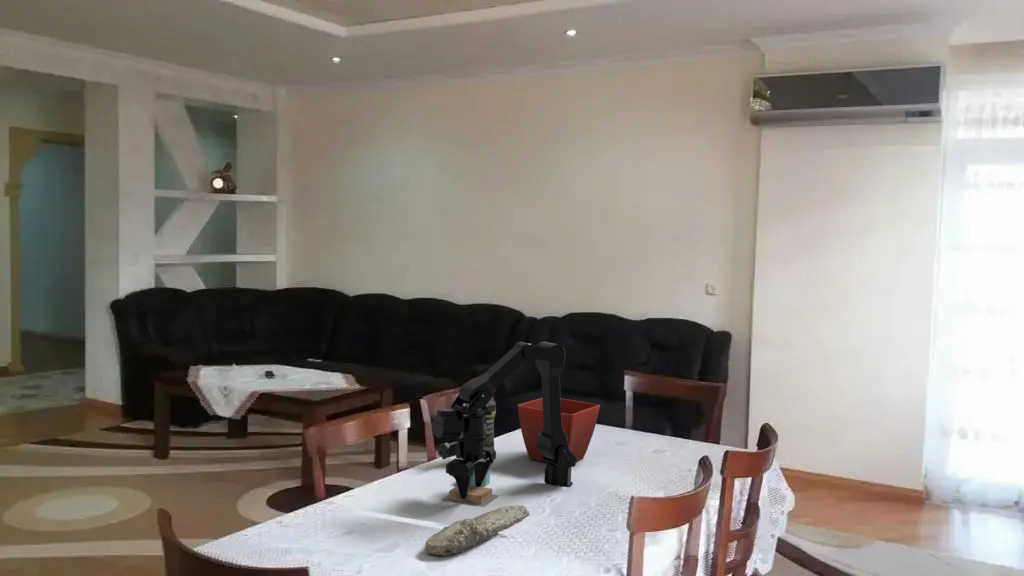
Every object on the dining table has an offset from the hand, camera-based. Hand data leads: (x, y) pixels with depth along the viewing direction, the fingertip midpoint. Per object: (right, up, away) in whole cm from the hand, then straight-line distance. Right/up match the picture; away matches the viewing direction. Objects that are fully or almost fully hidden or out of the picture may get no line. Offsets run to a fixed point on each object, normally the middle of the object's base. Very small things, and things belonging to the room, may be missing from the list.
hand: (470, 493), depth 218 cm
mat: (0, -2, 0) cm, 2 cm away
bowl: (+1, -1, +13) cm, 13 cm away
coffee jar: (0, 0, +40) cm, 40 cm away
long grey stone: (+3, -4, -23) cm, 23 cm away
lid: (0, -1, 0) cm, 1 cm away
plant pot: (+24, 0, +43) cm, 49 cm away
